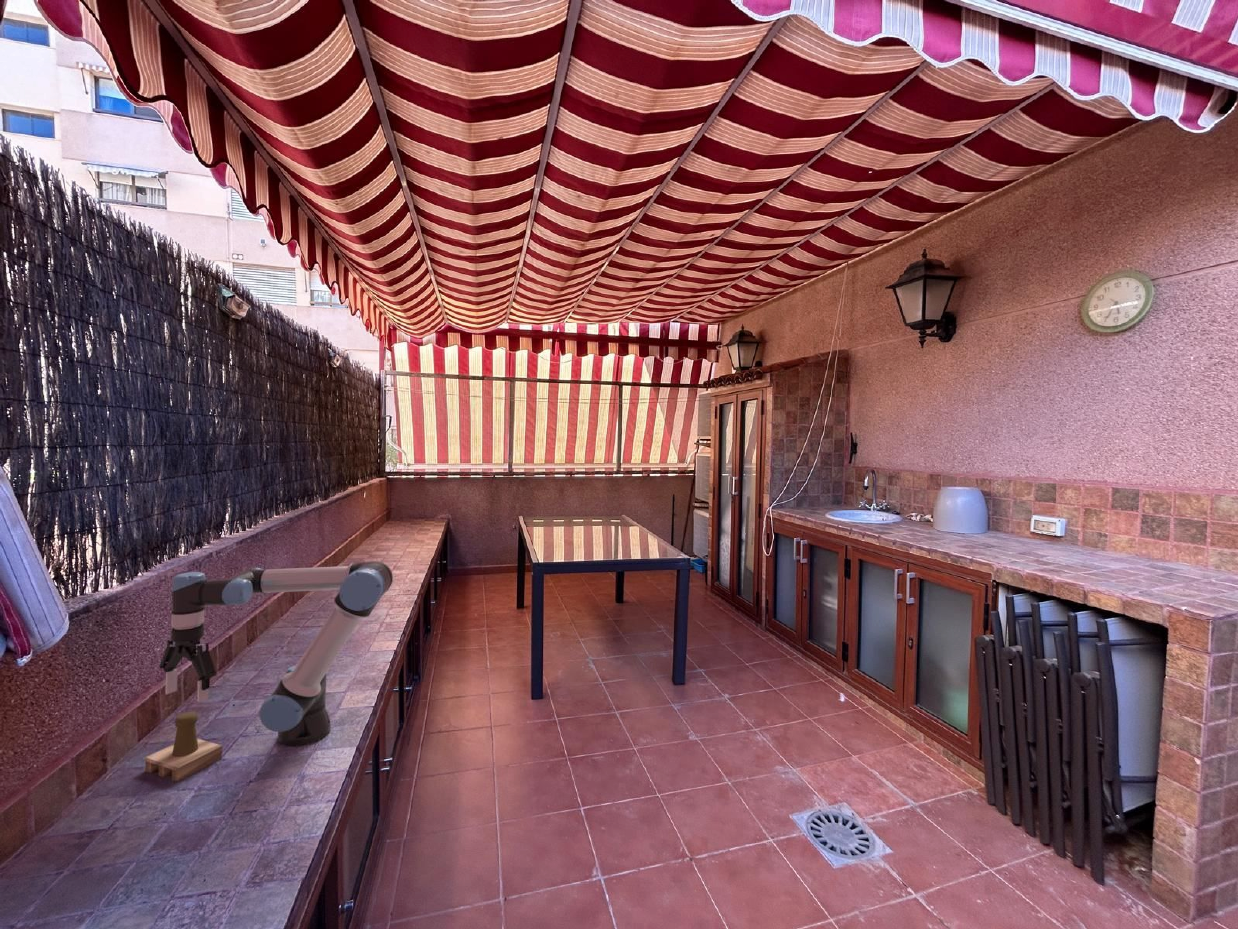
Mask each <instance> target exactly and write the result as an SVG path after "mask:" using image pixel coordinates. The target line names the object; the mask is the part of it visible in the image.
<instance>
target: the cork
mask: <svg viewBox="0 0 1238 929" xmlns="http://www.w3.org/2000/svg"><path fill="white" fill-rule="evenodd" d="M197 722H198V714H197V712H193V711H190V712H183V713H181V714H180V715H178V716H177V717H176V718H175V720H174V725H175V726H174V727H175V728H176V734H175V738H174V743H173V744H174V747H173V752H172V755H173V756H174V757H181V756H186V755H189V754H192V753H194V752H195V751H197V750H198V741H197V739H198V736H197V729H196V728H197V727H196V723H197Z"/></svg>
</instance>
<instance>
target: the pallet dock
mask: <svg viewBox="0 0 1238 929" xmlns="http://www.w3.org/2000/svg"><path fill="white" fill-rule="evenodd" d="M197 741H198V750H197V751H195V752H194V753H192V754H189V755H186V756H181V757H174V756H173V755H172V752H173V747H174V743H173V744H172V745H169V746H167V747H164V748H162V749H161V750H158V751H155V752H154V753H152V754H150V755H147V756H145V758H144V761H145V768H144V769H145V770H144V772H147V773H150V774H152V773H155V772H156V771H158V776H160V777H162V778H165V777H167V776H169V775H171V781H175V782H179V781H182V780H184V779H185V778H187V777H189V776H191V775H193V774H195V773H196V772H199V771H200V770H203V769H204V768H206V767H208V766H211V765H212V764H214V763H215V762H218V761H220V760H221V759H223V758H222V754H223V745H221V744H217V743H216V742H215V743H214V742H210V741H207V740H203V739H200V738H197Z"/></svg>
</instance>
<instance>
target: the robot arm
mask: <svg viewBox="0 0 1238 929" xmlns="http://www.w3.org/2000/svg"><path fill="white" fill-rule="evenodd" d="M392 583H393V572H392V570H391V568H390V567H389V566H388V565H387V564H386V563H384V562H381V561H378V560H377V561H376V560H375V561H374V560H373V561H372V560H371V561H364V562H363V561H361V562H351V563H350V564H349V565H346V566H345V565H343V566H322V567H321V566H318V567H317V566H316V567H298V568H297V567H295V568H292V567H291V568H272V569H270V568H269V569H263V568H261V567H252V568H247V569H245V570H243V571H241V572H238V573H237V574H234V575H231V576H230V577H227V578H225V579H206V574H205V573H204V572H201V571H190V572H183V573H179V574H176V575H175V576H173V578H172V585H171V586H172V587H171V619H170V621H171V623H170V626H171V627H172V628H171V630H170V631H171V632H170V633H171V634H170V635H171V637H170V638H171V639H168V640H167V643H166V649H165V651H164V653H163V657H162V658H161V660H160V661H161V662H160V664H159V669H161V670H162V669H163V672H164V673H165V677H164V678H165V679H164V680H165V684H164V686H165V692H164V693H165V695H169V694H172V693H176V692H177V691H178V669H177V668H178V664H179V663H180V662H181V661H182V660H183V658H185V659H187V660H188V661H189V662H191V664H192V666H193V668H194V669H195V671H196V674H197V676H198V679H197V690H196V691H197V692H196V693H197V696H196V699H197V700H196V701H197V703H200V702H203V701H205V700H208V699H210V687H211V686H210V684H211V682H210V681H211V677H214V676H216V675H217V672H216V669H215V665H214V662H213V659H212V656H211V652H210V648H209V643H208V642H206V643H201V641H200V640H201V639H202V638H203V637H204V635H205V624H204V622H205V608H206V607H205V606H238V605H245V604H246V603H248V602H249V600H250V599H251V597H252V595H253V594H268V593H289V592H310V591H311V592H313V591H329V590H330V591H331V590H333V591H335V590H339V592H337V594H336V596H335V597H334V600H333V602H334V608H333V610H332V612H330V614H329V615H328V617H327V619H326V620H325V622H324V623H323V624H322V626H321V628H320V630H319V631H317V632H318V633H317V634H316V636H315V637H314V638H313V640H312V642H310V645H309V646H308V648H307V649H306V651H305V652H304V654H303V655H302V657H301V658H300V660H299V661H298V663H297V664H296V665H293V666H291V667H289V668H287V670H286V671H285V674H284V675H283V677H282V678H281V679H280V681H279V682H278V684H277V685H276V687H275V689H274V690H273V692H272V693H271V694H270V696H269V697H267V698H266V699H265V700H264V701H263V703H262V705H261V706H260V708H259V714H258V717H259V719H260V722H261V724H262V725H263V726H264V727H265V728H266V729H268V730H269V731H271V732H276V733H277V742H278V744H280V745H281V746H285V747H291V748H292V747H302V746H306V745H310V744H313V743H316V742H318V741H320V740H322V739H324V738H325V737H326V736H327V735H329V734H330V732H331V730H330V729H332V727H331V726H332V724H331V719H330V716H329V714H328V710H327V708H326V697H327V694H326V693H327V690H326V689H327V675H328V673H327V672H328V671H329V669H330V668H331V666H332V665H333V663H334V661H335V660H336V659H337V657H338V655H339V654H340V652H341V651H342V649H343V648H344V647H345V645H346V643H347V642H348V640H349V639H350V638H351V635H352V634H353V632H354V631H355V630H356V628H357V626H358V625H359V624H360V622H361V620H362V619H364V618H365V619H366V618H369V616H370V615H371V614H372V612H373V611H374V609H375V607H376V606H377V604H378V603H379V602H380V600H381V598H382V596H383V595H385V594H386V592H388V591H389V590H390V588H391V586H392ZM319 739H320V740H319Z"/></svg>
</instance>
